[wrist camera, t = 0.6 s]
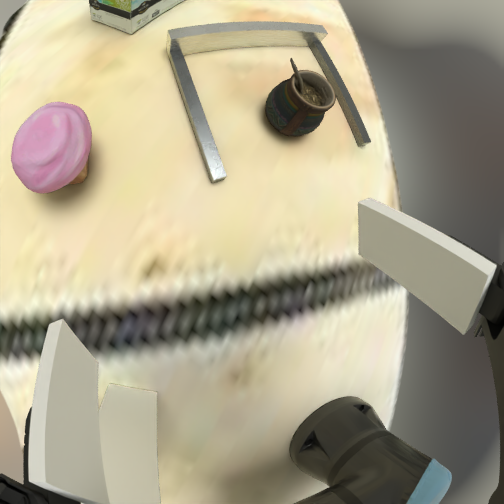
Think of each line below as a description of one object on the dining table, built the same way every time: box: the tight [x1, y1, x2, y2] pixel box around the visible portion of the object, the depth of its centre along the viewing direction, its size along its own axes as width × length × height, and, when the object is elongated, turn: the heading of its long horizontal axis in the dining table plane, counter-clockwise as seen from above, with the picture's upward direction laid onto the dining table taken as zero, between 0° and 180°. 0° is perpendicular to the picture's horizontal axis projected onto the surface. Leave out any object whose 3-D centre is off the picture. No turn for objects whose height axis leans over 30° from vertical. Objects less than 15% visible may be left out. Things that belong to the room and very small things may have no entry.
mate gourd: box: [265, 58, 336, 136], centre depth 28 cm, size 7×8×10 cm
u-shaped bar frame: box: [166, 22, 371, 183], centre depth 30 cm, size 21×24×4 cm
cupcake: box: [11, 102, 92, 193], centre depth 20 cm, size 9×9×10 cm
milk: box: [81, 383, 161, 504], centre depth 16 cm, size 6×6×22 cm
